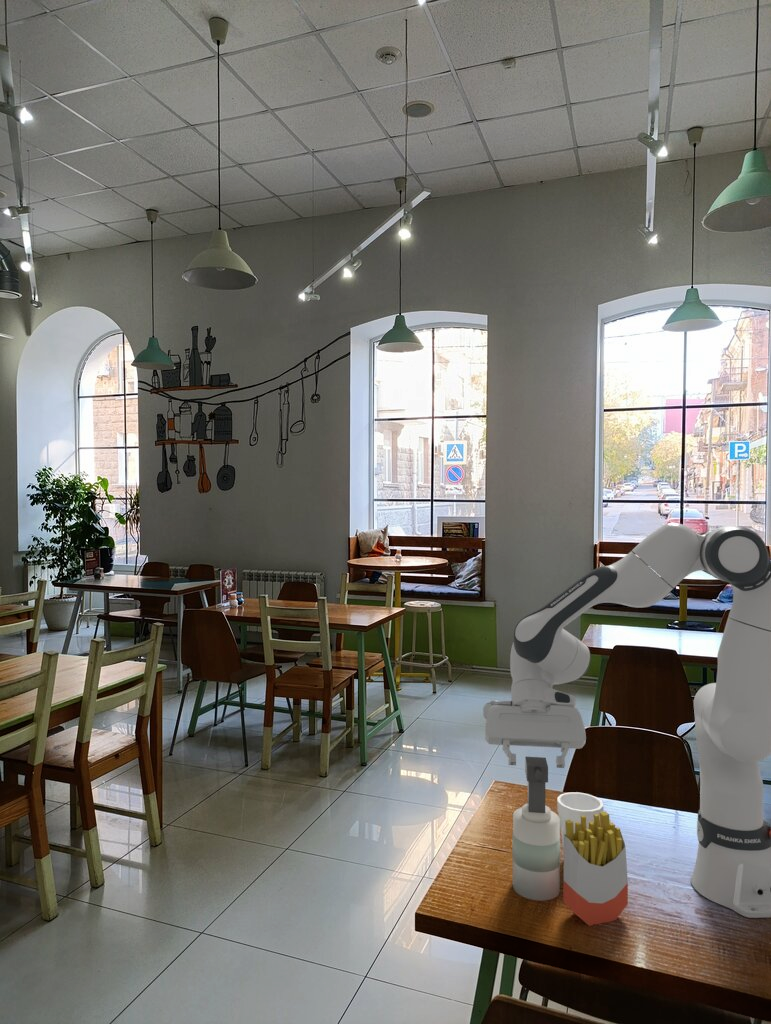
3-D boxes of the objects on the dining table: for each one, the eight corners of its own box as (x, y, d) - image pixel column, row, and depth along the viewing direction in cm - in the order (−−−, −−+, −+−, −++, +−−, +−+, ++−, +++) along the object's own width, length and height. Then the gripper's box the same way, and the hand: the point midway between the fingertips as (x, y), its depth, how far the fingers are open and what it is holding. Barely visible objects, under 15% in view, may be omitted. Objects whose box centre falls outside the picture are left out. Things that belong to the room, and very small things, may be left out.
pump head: (545, 803, 134) (545, 757, 134) (550, 824, 125) (550, 775, 125) (525, 802, 134) (525, 756, 134) (528, 822, 125) (528, 773, 125)
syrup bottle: (557, 876, 135) (557, 771, 135) (562, 903, 126) (563, 789, 126) (511, 873, 137) (511, 768, 137) (513, 898, 128) (513, 786, 128)
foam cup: (605, 877, 135) (605, 813, 135) (558, 872, 137) (558, 809, 137) (600, 853, 145) (600, 794, 145) (556, 849, 146) (556, 790, 146)
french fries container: (629, 919, 121) (629, 820, 121) (577, 929, 118) (577, 828, 118) (613, 905, 126) (613, 809, 126) (563, 914, 123) (563, 817, 123)
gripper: (483, 692, 141) (483, 755, 131) (582, 696, 138) (590, 761, 128) (483, 707, 145) (483, 769, 136) (579, 711, 143) (586, 775, 133)
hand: (536, 765), depth 132 cm, fingers open, 8 cm apart
